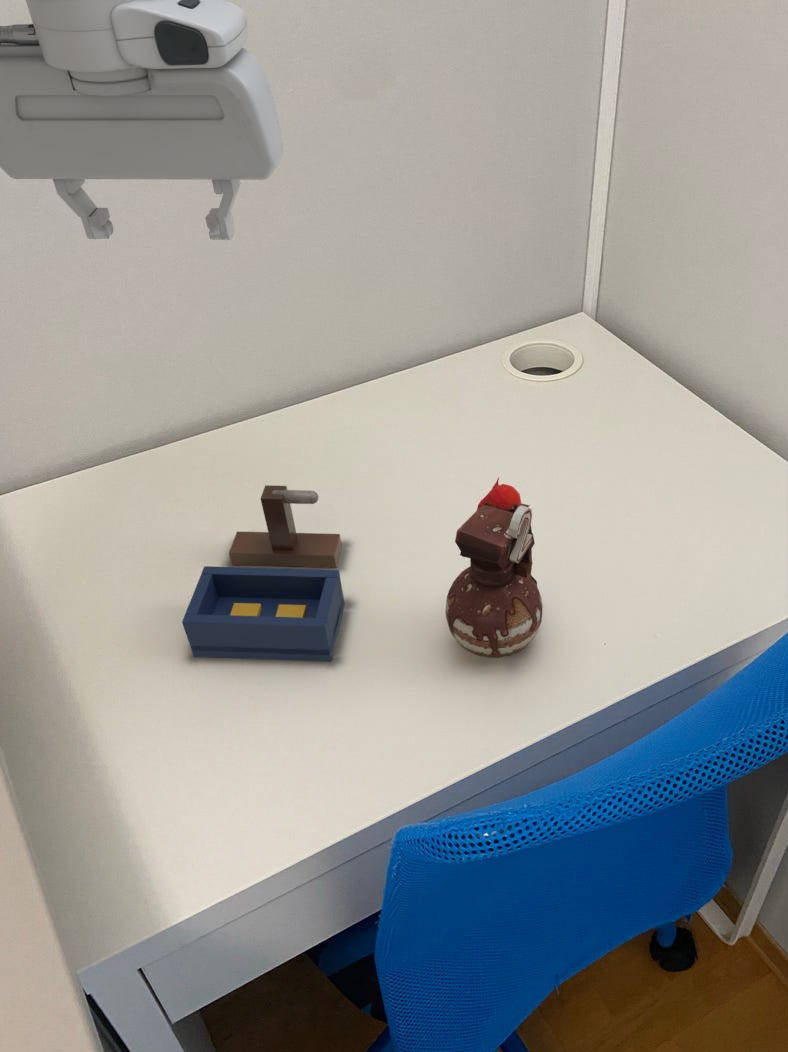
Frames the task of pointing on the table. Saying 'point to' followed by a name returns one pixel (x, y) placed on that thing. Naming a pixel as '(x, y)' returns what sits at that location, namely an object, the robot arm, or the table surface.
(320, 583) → the token holder
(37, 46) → the robot arm
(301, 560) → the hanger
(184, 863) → the table surface
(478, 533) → the grenade
